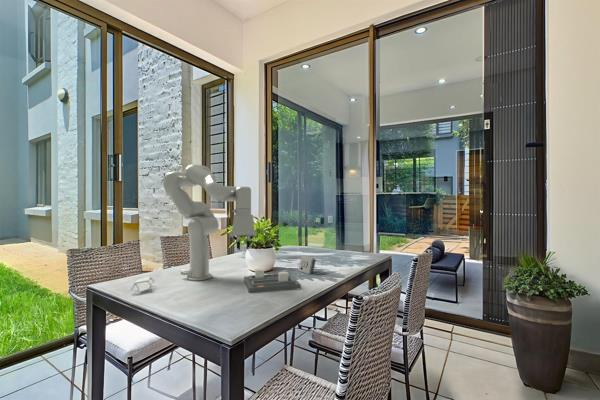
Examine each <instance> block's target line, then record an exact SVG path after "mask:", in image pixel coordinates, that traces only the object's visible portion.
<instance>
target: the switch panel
mask: <svg viewBox="0 0 600 400" xmlns="http://www.w3.org/2000/svg"><path fill="white" fill-rule="evenodd" d="M243 281H244V284H245V286H246V289H247V291H248V293H252V294H253V293H262V292H274V291H285V290H297V288H299V289H301V283H300V282H299V281H298V280H297V279H296V278H295V277H294V276H293V275H292V274H291V273H288V281H281V282H279V281H278V273H270V274H269V273H268V274H264V278H255V274H254V275H253V274H252V275H248V276H243Z"/></svg>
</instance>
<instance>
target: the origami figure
mask: <svg viewBox="0 0 600 400" xmlns="http://www.w3.org/2000/svg"><path fill="white" fill-rule="evenodd" d="M150 280H151V281H152V282H151V283H150ZM154 282H155V279H153V278H152V276H147V277H142V278H140V279H137V280H135V282H134V283H133V286H132V287H131V289H130V291H133V292H135V293H136V292H137V290H139V289H140V288H139V286H138V284H141V283H148V284H149V287H148V289H147V290H148V292H151V290H150V288H153V284H154ZM135 286H136V288H137V290H135V289H134V288H135Z"/></svg>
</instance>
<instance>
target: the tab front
mask: <svg viewBox="0 0 600 400" xmlns="http://www.w3.org/2000/svg"><path fill="white" fill-rule="evenodd" d="M277 274H278V281H279V282H281V281H288V274H289V272H287V271H278V273H277Z"/></svg>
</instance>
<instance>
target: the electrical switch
mask: <svg viewBox="0 0 600 400" xmlns="http://www.w3.org/2000/svg"><path fill="white" fill-rule="evenodd" d="M316 261H317V260H316V259H314V257H312V256H307V255H302V254H301V256H300V260H299V266H298V272H300V273H303V274H307V275H310V274H313V273H314V270H315V265H316Z"/></svg>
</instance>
